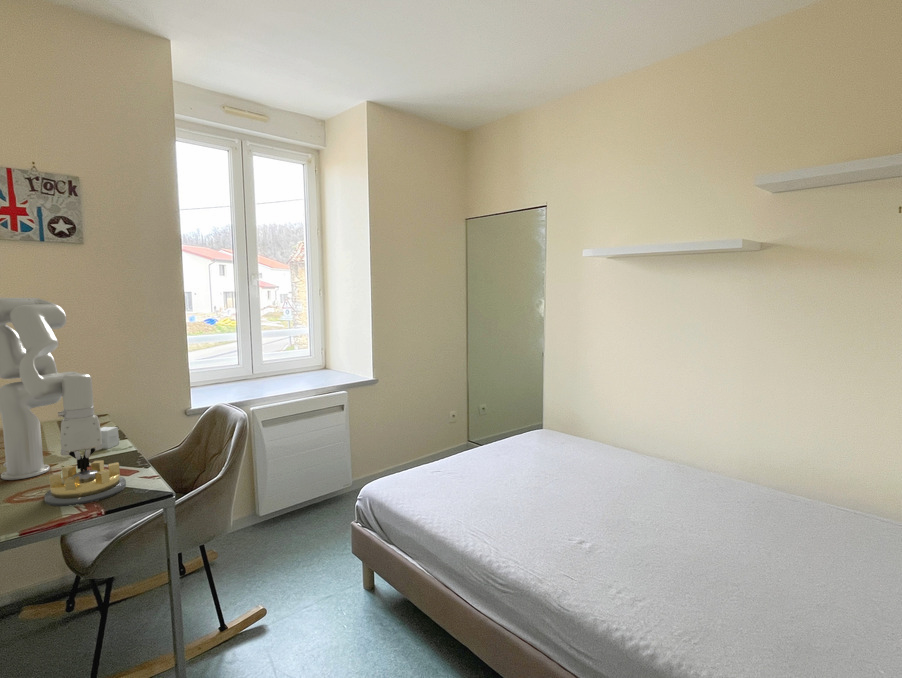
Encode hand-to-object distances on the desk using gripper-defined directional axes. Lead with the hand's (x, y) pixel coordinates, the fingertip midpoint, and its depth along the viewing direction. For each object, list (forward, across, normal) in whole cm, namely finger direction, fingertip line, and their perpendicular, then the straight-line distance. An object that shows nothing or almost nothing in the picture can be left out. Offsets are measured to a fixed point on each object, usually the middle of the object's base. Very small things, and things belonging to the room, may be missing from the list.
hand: (83, 470), depth 155 cm
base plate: (+5, 0, -7) cm, 9 cm away
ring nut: (+3, 0, -7) cm, 8 cm away
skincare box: (+5, +11, +46) cm, 48 cm away
